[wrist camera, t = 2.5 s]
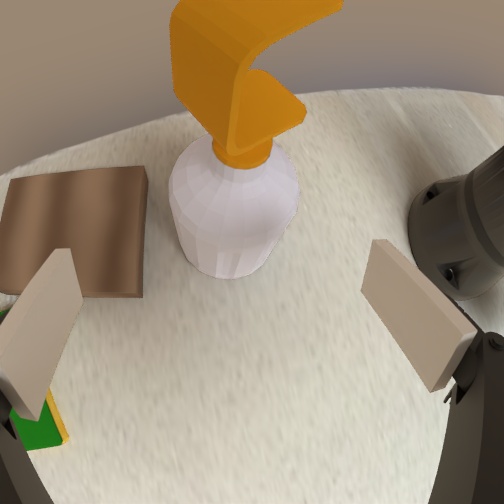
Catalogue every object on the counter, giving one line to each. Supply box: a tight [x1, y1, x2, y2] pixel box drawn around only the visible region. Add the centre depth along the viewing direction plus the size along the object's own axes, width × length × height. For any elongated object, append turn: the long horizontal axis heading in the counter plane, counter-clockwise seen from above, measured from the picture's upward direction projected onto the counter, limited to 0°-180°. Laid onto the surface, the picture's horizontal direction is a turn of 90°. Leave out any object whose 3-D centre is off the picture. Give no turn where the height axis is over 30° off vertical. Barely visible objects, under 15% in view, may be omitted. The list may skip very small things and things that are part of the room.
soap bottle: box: [169, 0, 343, 279], centre depth 19 cm, size 9×9×25 cm
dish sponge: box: [0, 308, 69, 451], centre depth 22 cm, size 7×14×2 cm, turn 23°
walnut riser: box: [0, 166, 148, 298], centre depth 27 cm, size 16×12×3 cm
